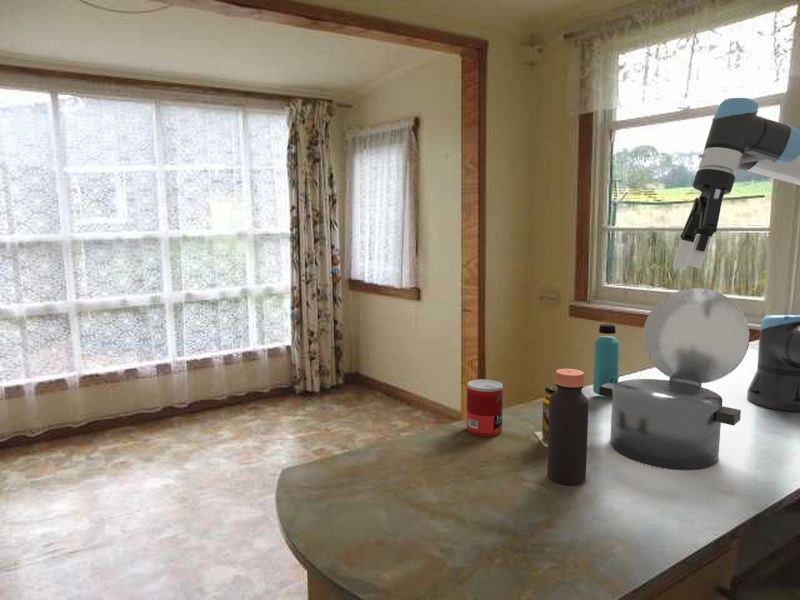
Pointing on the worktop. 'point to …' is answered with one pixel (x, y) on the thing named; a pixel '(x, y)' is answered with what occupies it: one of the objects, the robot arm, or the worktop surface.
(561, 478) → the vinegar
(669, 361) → the lid
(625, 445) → the pot
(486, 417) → the canned food
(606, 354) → the beverage bottle
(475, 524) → the worktop surface
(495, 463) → the worktop surface
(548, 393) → the condiment
